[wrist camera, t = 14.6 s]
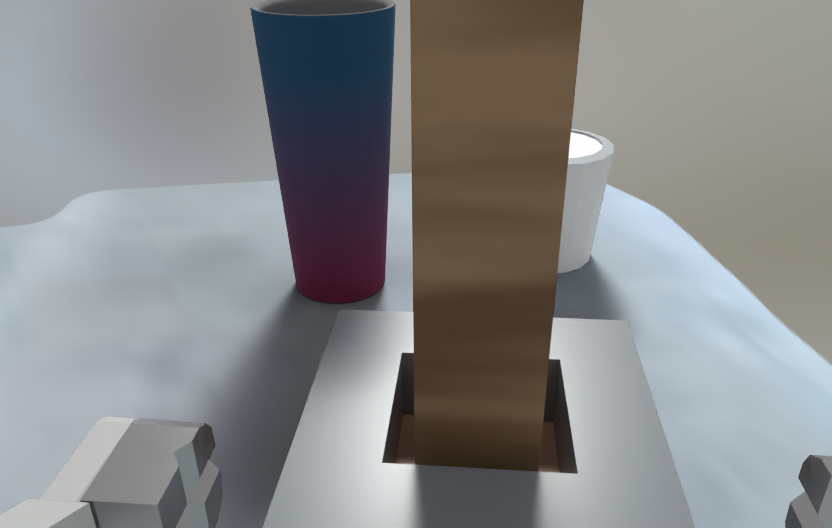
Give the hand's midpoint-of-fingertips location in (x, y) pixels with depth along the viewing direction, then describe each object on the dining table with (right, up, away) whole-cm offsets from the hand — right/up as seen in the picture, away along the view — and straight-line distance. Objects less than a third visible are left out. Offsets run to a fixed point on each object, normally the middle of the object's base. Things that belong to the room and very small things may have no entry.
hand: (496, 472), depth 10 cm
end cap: (+1, -6, +17) cm, 17 cm away
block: (+1, -5, +16) cm, 17 cm away
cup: (-5, +2, +31) cm, 31 cm away
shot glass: (+7, +3, +34) cm, 35 cm away
